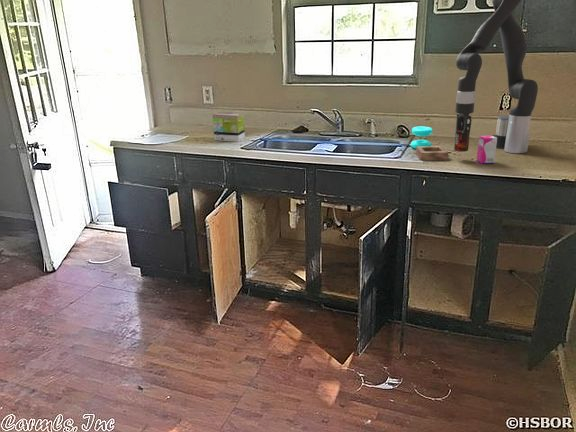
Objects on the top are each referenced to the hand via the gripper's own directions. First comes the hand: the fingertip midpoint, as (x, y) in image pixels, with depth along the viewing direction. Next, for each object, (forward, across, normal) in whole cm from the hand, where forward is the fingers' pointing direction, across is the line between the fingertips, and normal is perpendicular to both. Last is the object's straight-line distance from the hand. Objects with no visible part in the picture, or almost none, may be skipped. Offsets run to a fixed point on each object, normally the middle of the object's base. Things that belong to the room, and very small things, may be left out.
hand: (461, 139), depth 211 cm
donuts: (+9, +24, +12) cm, 29 cm away
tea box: (+7, +50, +113) cm, 124 cm away
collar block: (+9, +6, +12) cm, 16 cm away
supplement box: (+10, -5, -9) cm, 14 cm away
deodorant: (+5, 0, 0) cm, 5 cm away
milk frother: (+10, +27, -26) cm, 39 cm away
